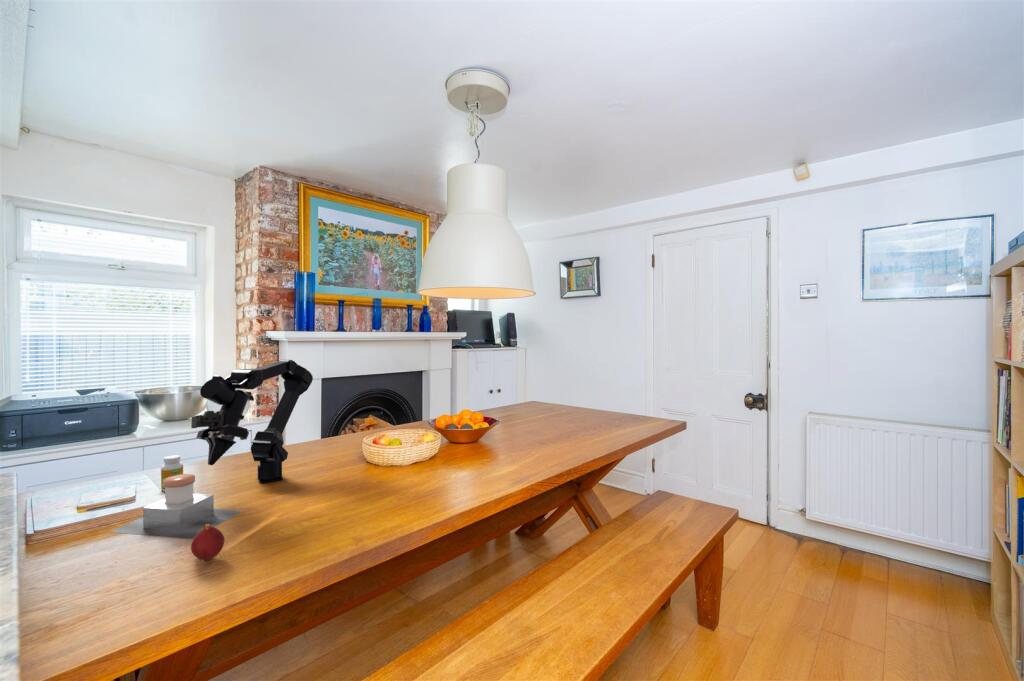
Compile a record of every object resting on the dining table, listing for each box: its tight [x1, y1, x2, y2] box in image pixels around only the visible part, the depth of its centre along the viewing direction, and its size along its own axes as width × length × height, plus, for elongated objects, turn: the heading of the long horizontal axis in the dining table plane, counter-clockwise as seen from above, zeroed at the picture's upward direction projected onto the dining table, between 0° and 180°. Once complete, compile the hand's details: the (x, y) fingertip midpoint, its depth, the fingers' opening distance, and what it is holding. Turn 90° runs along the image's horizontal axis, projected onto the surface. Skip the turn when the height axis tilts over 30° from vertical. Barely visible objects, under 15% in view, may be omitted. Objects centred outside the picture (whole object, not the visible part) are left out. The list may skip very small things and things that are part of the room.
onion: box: [190, 524, 225, 563], centre depth 95 cm, size 6×6×8 cm
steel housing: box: [142, 492, 215, 531], centre depth 112 cm, size 10×10×5 cm
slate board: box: [108, 508, 243, 540], centre depth 112 cm, size 16×22×1 cm
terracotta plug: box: [163, 473, 196, 505], centre depth 112 cm, size 6×6×7 cm
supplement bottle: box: [160, 454, 184, 492], centre depth 137 cm, size 5×5×10 cm
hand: (210, 464), depth 123 cm, fingers closed
